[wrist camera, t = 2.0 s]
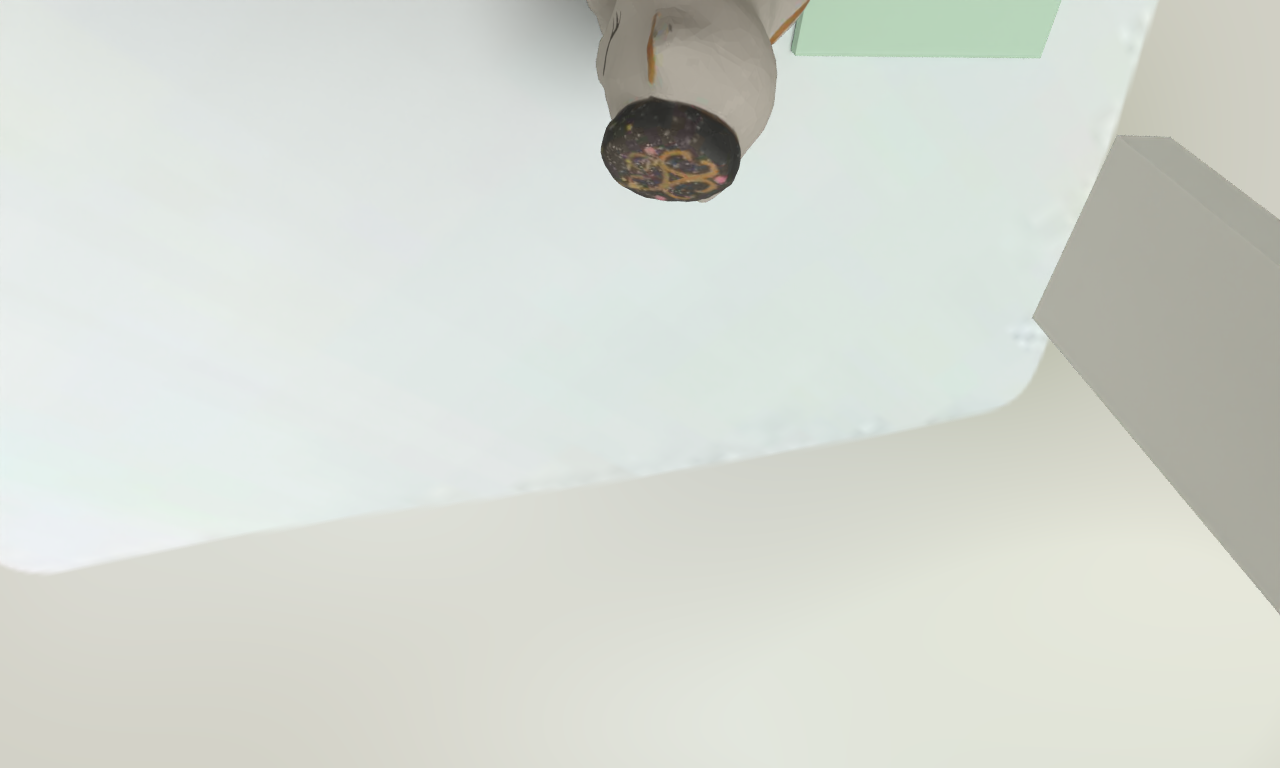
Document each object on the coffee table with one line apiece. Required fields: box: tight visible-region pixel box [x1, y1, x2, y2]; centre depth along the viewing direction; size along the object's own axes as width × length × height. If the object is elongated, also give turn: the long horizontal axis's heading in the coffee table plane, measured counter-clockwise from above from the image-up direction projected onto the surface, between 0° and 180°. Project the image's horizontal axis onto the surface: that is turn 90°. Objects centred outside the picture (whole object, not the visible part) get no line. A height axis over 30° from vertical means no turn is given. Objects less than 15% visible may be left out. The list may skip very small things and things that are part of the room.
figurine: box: [587, 0, 810, 203], centre depth 34 cm, size 9×10×15 cm
